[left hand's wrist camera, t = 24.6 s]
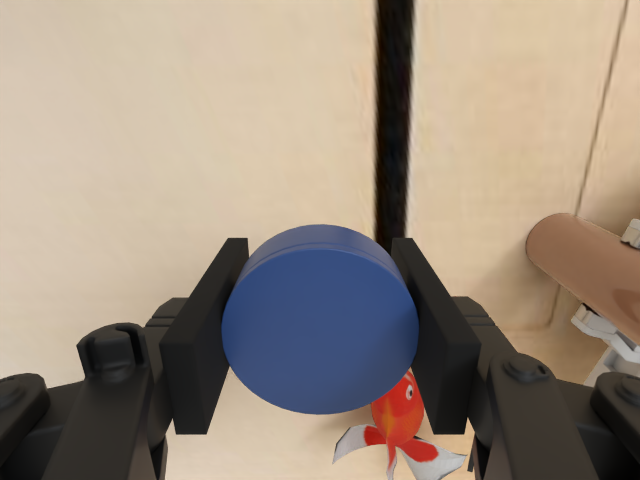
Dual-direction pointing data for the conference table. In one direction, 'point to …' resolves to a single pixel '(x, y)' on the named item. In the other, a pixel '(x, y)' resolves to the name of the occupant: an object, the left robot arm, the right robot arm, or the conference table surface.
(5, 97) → the conference table surface
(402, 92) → the conference table surface
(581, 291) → the jar
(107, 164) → the conference table surface
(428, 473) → the fish
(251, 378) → the lid
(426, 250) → the conference table surface
